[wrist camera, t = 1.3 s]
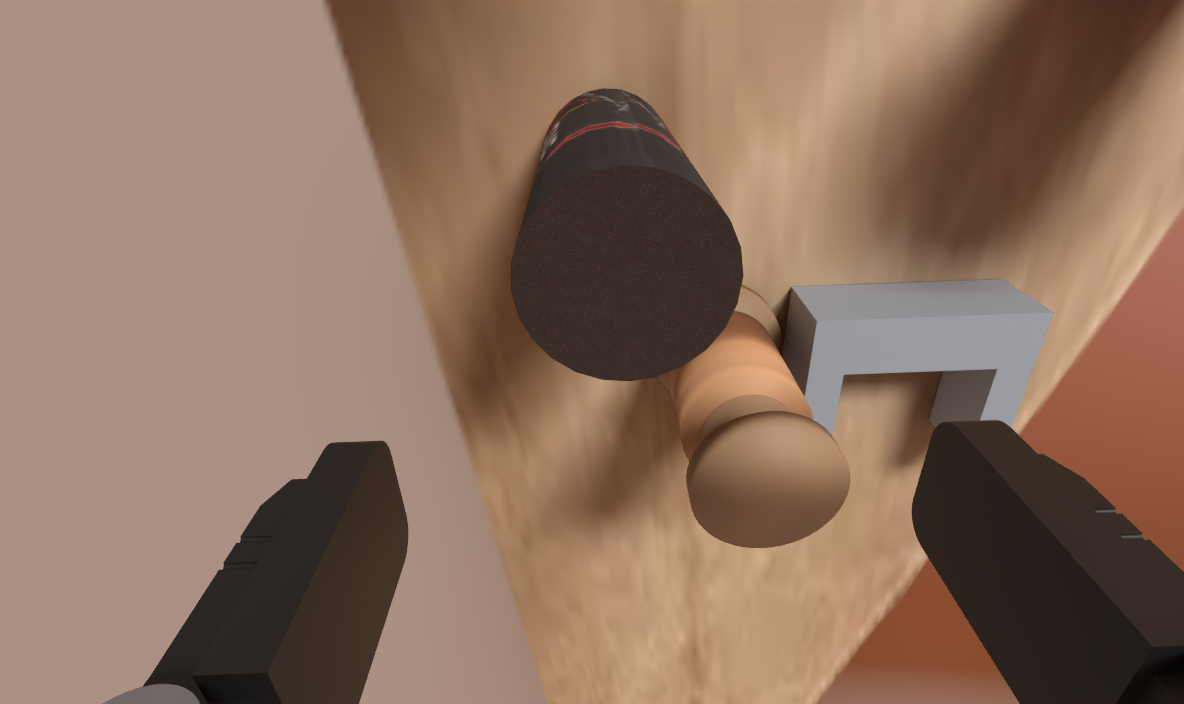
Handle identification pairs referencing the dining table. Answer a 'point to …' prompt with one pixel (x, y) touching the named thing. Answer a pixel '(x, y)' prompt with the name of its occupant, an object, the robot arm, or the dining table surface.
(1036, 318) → the notch board
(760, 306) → the bobbin
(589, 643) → the dining table surface
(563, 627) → the dining table surface
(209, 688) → the robot arm
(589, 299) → the deodorant
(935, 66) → the dining table surface
